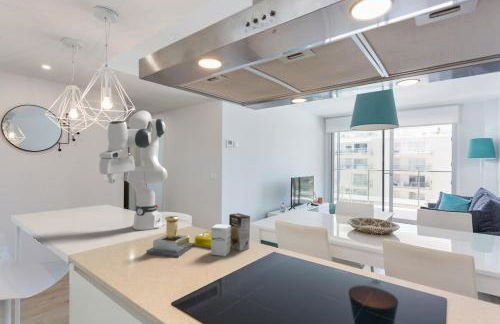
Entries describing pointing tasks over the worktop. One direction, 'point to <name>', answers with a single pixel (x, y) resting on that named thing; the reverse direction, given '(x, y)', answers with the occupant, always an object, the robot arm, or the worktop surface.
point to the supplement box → (220, 239)
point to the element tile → (203, 239)
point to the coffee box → (239, 231)
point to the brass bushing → (171, 228)
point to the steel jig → (171, 246)
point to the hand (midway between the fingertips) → (119, 181)
